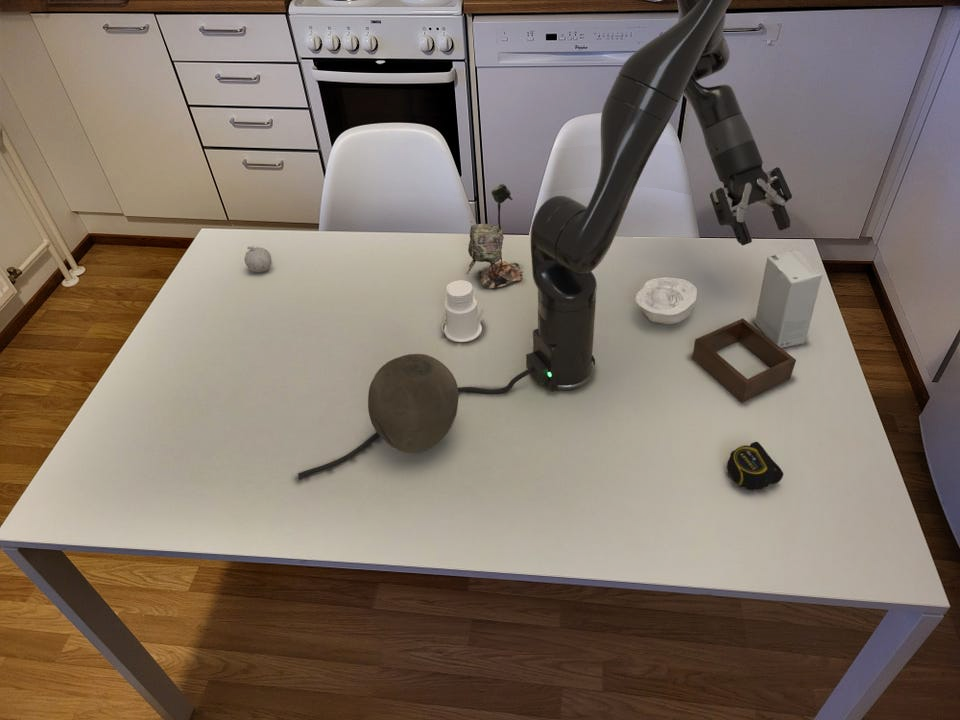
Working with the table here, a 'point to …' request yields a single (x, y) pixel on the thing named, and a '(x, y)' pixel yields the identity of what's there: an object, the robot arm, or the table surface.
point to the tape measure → (753, 467)
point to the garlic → (258, 259)
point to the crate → (756, 344)
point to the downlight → (461, 313)
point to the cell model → (667, 299)
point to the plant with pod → (492, 248)
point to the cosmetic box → (787, 298)
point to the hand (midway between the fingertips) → (766, 236)
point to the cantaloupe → (413, 402)
